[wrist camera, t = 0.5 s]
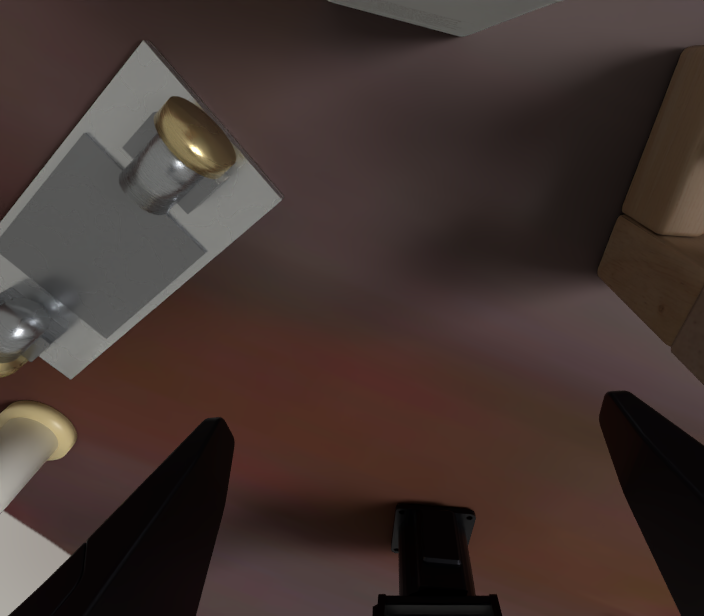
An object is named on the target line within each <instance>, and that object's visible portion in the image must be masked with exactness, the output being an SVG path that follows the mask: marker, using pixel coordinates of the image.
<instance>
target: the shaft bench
mask: <svg viewBox="0 0 704 616" xmlns="http://www.w3.org/2000/svg"><path fill="white" fill-rule="evenodd" d="M283 198H284V196H283V195H282V193H281V192H280V191H279V190H278V189H277V188H276V186H275V185H274V184H273V183H272V182H271V181H270V180H269V178H268V177H267V176H266V175H265V174H264V173H263V171H262V170H261V169H260V168H259V167H258V166H257V164H256V163H255V162H254V161H253V160H252V159H251V158H250V156H249V155H248V154H247V153H246V152H245V151H244V149H243V148H242V147H241V146H240V145H239V144H238V142H237V141H236V140H235V139H234V138H233V137H232V136H231V134H230V133H229V132H228V131H227V130H226V129H225V127H224V126H223V125H222V124H221V123H220V122H219V120H218V119H217V118H216V117H215V116H214V115H213V113H212V112H211V111H210V110H209V109H208V108H207V107H206V105H205V104H204V103H203V102H202V101H201V100H200V98H199V97H198V96H197V95H196V94H195V93H194V91H193V90H192V89H191V88H190V87H189V86H188V85H187V83H186V82H185V81H184V80H183V79H182V78H181V76H180V75H179V74H178V73H177V72H176V71H175V69H174V68H173V67H172V66H171V65H170V64H169V63H168V61H167V60H166V59H165V58H164V57H163V56H162V54H161V53H160V52H159V51H158V50H157V49H156V47H155V46H154V45H153V44H152V43H151V42H150V41H144V40H143V41H142V43H141V44H140V45H139V46H138V48H137V49H136V50H135V52H134V53H133V54H132V55H131V57H130V58H129V59H128V60H127V62H126V63H125V64H124V66H123V67H122V68H121V69H120V71H119V72H118V73H117V74H116V76H115V77H114V78H113V80H112V81H111V82H110V83H109V85H108V86H107V87H106V88H105V90H104V91H103V92H102V94H101V95H100V96H99V97H98V99H97V100H96V101H95V102H94V104H93V105H92V106H91V108H90V109H89V110H88V111H87V113H86V114H85V115H84V116H83V118H82V119H81V120H80V122H79V123H78V124H77V125H76V127H75V128H74V129H73V130H72V132H71V133H70V134H69V136H68V137H67V138H66V139H65V141H64V142H63V143H62V144H61V146H60V147H59V148H58V150H57V151H56V152H55V153H54V155H53V156H52V157H51V158H50V160H49V161H48V162H47V164H46V165H45V166H44V167H43V169H42V170H41V171H40V172H39V174H38V175H37V176H36V178H35V179H34V180H33V181H32V183H31V184H30V185H29V187H28V188H27V189H26V190H25V192H24V193H23V194H22V195H21V197H20V198H19V199H18V201H17V202H16V203H15V204H14V206H13V207H12V208H11V209H10V211H9V212H8V213H7V215H6V216H5V217H4V218H3V220H2V221H1V222H0V377H5V376H8V375H11V374H13V373H15V372H16V371H17V370H19V369H20V368H21V367H22V366H23V365H24V364H25V363H26V362H27V361H28V360H29V361H30V362H32V361H33V360H35V359H36V358H37V357H38V356H39V357H41V358H42V359H43V360H45V361H46V362H48V363H49V364H50V365H52V366H53V367H54V368H56V369H57V370H58V371H60V372H61V373H62V374H64V375H65V376H67V377H68V378H69V379H72V378H73V377H74V376H76V375H77V374H78V373H79V372H80V371H82V370H83V369H84V368H85V367H86V366H87V365H89V364H90V363H91V362H92V361H93V360H94V359H96V358H97V357H98V356H99V355H100V354H102V353H103V352H104V351H105V350H106V349H107V348H109V347H110V346H111V345H112V344H113V343H114V342H116V341H117V340H118V339H119V338H120V337H122V336H123V335H124V334H125V333H126V332H127V331H129V330H130V329H131V328H132V327H133V326H134V325H136V324H137V323H138V322H139V321H140V320H142V319H143V318H144V317H145V316H146V315H147V314H149V313H150V312H151V311H152V310H153V309H154V308H156V307H157V306H158V305H159V304H160V303H161V302H163V301H164V300H165V299H166V298H167V297H169V296H170V295H171V294H172V293H173V292H174V291H176V290H177V289H178V288H179V287H180V286H181V285H183V284H184V283H185V282H186V281H187V280H189V279H190V278H191V277H192V276H193V275H194V274H196V273H197V272H198V271H199V270H200V269H201V268H203V267H204V266H205V265H206V264H207V263H209V262H210V261H211V260H212V259H213V258H214V257H216V256H217V255H218V254H219V253H220V252H221V251H223V250H224V249H225V248H226V247H227V246H229V245H230V244H231V243H232V242H233V241H234V240H236V239H237V238H238V237H239V236H240V235H241V234H243V233H244V232H245V231H246V230H247V229H248V228H250V227H251V226H252V225H253V224H254V223H256V222H257V221H258V220H259V219H260V218H261V217H263V216H264V215H265V214H266V213H267V212H268V211H270V210H271V209H272V208H273V207H274V206H276V205H277V204H278V203H279V202H280V201H281V200H282V199H283Z"/></svg>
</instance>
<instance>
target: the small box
mask: <svg viewBox="0 0 704 616" xmlns="http://www.w3.org/2000/svg"><path fill="white" fill-rule="evenodd" d="M327 1H329V2H332V3H335V4H339V5H343V6H347V7H351V8H354V9H358V10H362V11H366V12H369V13H373V14H377V15H381V16H385V17H388V18H392V19H396V20H400V21H403V22H407V23H411V24H415V25H419V26H422V27H426V28H430V29H433V30H437V31H441V32H445V33H448V34H452V35H456V36H460V37H464V36H468V35H471V34H473V33H476V32H479V31H481V30H485V29H487V28H489V27H491V26H494V25H497V24H499V23H502V22H505V21H508V20H511V19H513V18H516V17H518V16H521V15H524V14H526V13H529V12H531V11H534V10H537V9H539V8H543V7H546V6H548V5H551V4H554V3H557V2H560V1H564V0H327Z"/></svg>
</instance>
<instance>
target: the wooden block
mask: <svg viewBox="0 0 704 616" xmlns="http://www.w3.org/2000/svg"><path fill="white" fill-rule="evenodd" d="M622 212H623V213H625V215H620V216H619V217H618V218H617V220H616V223H615V226H614V228H613V231H612V233H611V236H610V239H609V241H608V244H607V246H606V249H605V252H604V254H603V257H602V259H601V262H600V265H599V267H598V270H597V274H598V276H599V277H600V278H601V279H602V280H603V282H604V283H605V284H606V285H607V286H608V287H609V288H610V289H611V290H612V291H613V292H614V293H615V294H616V295H617V296H618V297H619V298H620V299H621V300H622V301H623V302H624V303H625V304H626V305H627V306H628V307H629V308H630V309H631V310H632V311H633V312H634V313H635V314H636V315H637V316H638V317H639V318H640V319H641V320H642V321H643V322H644V323H645V324H646V325H647V326H648V327H649V328H650V329H651V330H652V331H653V332H654V333H655V334H656V335H657V336H658V337H659V338H660V339H661V340H662V341H663V342H664V343H665V344H666V345H668V346H670V347H671V352H672V353H673V354H674V355H675V356H676V357H677V358H678V359H679V360H680V361H681V362H682V363H683V364H684V365H685V366H686V367H687V368H688V369H689V370H690V371H691V372H692V373H693V374H694V376H695V377H696V378H697V379H698V380H699V381H700V382H701V383H702V384H703V385H704V45H696V46H691V47H688V48H686V49H684V51H683V52H682V53H681V55H680V58H679V61H678V63H677V66H676V68H675V71H674V74H673V76H672V79H671V81H670V84H669V87H668V89H667V92H666V94H665V97H664V99H663V102H662V105H661V107H660V110H659V112H658V115H657V118H656V120H655V123H654V125H653V128H652V131H651V133H650V136H649V138H648V141H647V144H646V146H645V149H644V151H643V154H642V157H641V159H640V162H639V164H638V167H637V170H636V172H635V175H634V177H633V180H632V182H631V185H630V188H629V190H628V193H627V195H626V198H625V201H624V203H623V206H622Z"/></svg>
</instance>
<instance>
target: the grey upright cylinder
mask: <svg viewBox="0 0 704 616" xmlns="http://www.w3.org/2000/svg"><path fill="white" fill-rule="evenodd" d="M76 440H77V433H76V430H75V428H74V426H73V424H72V423H71V422H70V421H69V419H68V418H66V417H65V416H64V415H63V414H62V413H60V412H59V411H57V410H56V409H54V408H52V407H50V406H48V405H46V404H43V403H40V402H36V401H30V400H21V401H16V402H14V403H12V404H10V405H9V406H8V407H7V408H6V409H5V410H3V411H2V412H1V413H0V514H1V513H2V511H3V510H4V509H5V508H6V507H7V506H8V505H9V503H10V502H11V501H12V500H13V499H14V498H15V496H16V495H17V494H18V493H19V492H20V491H21V490H22V488H23V487H24V486H25V485H26V484H27V483H28V482H29V480H30V479H31V478H32V477H33V476H34V475H35V473H36V472H37V471H38V470H39V469H40V468H41V467H42V465H43V464H44V463H45V462H46V461H47V460H57V459H60V458H62V457H64V456H65V455H66V454H67V452H68V451H69V450H70V449H71V448H72V446H73V445H74V444H75V442H76Z"/></svg>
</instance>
